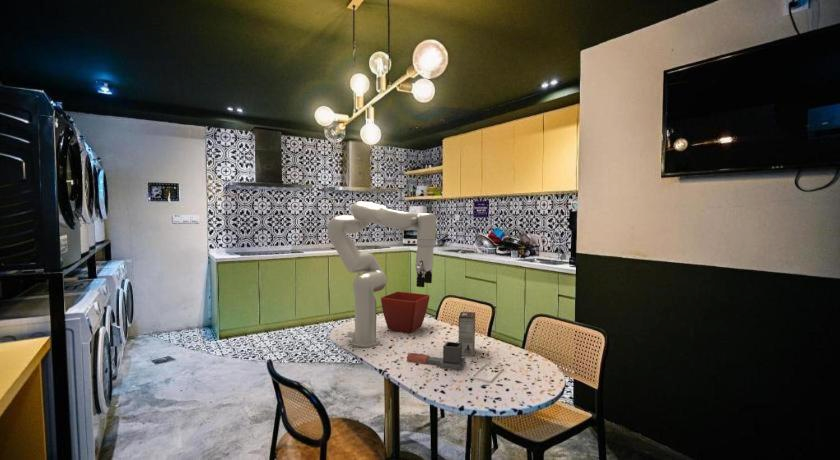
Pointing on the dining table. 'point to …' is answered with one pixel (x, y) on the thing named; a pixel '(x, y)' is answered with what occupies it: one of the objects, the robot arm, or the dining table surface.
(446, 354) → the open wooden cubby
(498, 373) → the phone case
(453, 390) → the dining table surface
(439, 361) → the ratchet
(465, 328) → the coffee box
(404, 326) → the plant pot
